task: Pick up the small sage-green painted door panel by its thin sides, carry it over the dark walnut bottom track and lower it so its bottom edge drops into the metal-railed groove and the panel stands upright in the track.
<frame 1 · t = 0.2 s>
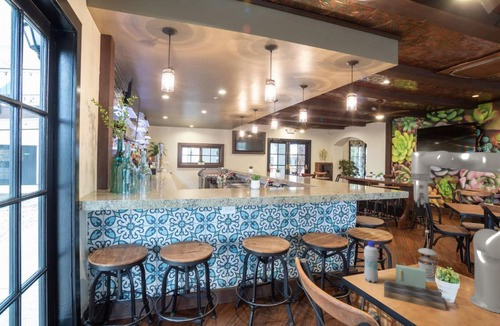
hand: (419, 214, 118), 36 cm above the table, tool pointing down, fingers open, 9 cm apart
bottle: (370, 281, 127), on the table
bottom track: (412, 296, 112), on the table
french press: (428, 278, 131), on the table
door panel: (410, 286, 122), on the table
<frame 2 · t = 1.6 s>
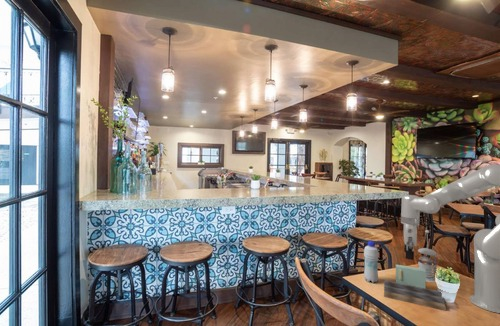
hand: (408, 255, 122), 15 cm above the table, tool pointing down, fingers open, 9 cm apart
nothing on the table moved.
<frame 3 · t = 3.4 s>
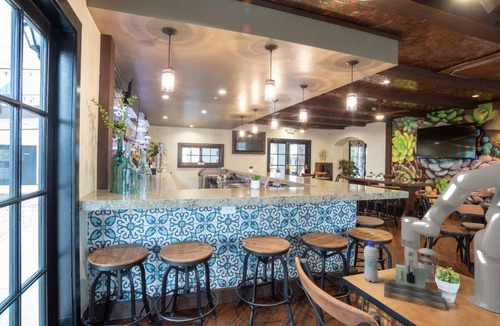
hand: (410, 280, 122), 3 cm above the table, tool pointing down, fingers closed on door panel, 3 cm apart
door panel: (410, 286, 122), on the table, touching gripper
everything else where it was.
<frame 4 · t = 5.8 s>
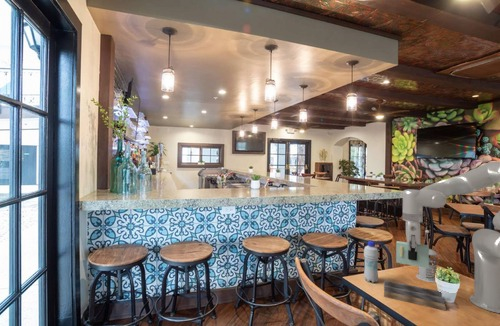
hand: (412, 258, 112), 17 cm above the table, tool pointing down, fingers closed on door panel, 3 cm apart
door panel: (411, 264, 112), point 14 cm above the table, touching gripper
everything else where it was.
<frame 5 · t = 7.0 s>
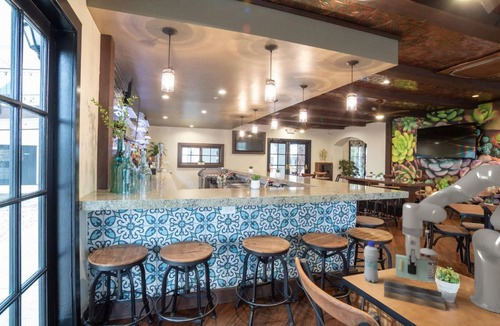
hand: (411, 271, 112), 11 cm above the table, tool pointing down, fingers closed on door panel, 3 cm apart
door panel: (411, 277, 112), point 8 cm above the table, touching gripper
everything else where it was.
when the fingers open (5 cm above the table, at t = 8.2 s): door panel drops 1 cm, resting on bottom track.
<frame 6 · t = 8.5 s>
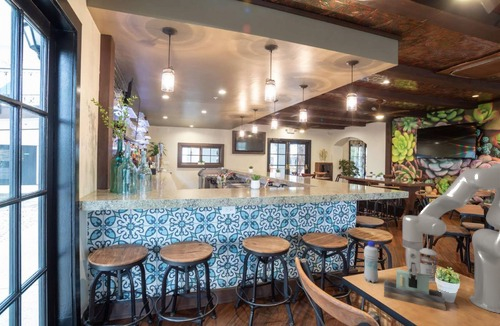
hand: (412, 284, 112), 6 cm above the table, tool pointing down, fingers open, 5 cm apart
door panel: (412, 293, 112), point 2 cm above the table, touching bottom track
everything else where it was.
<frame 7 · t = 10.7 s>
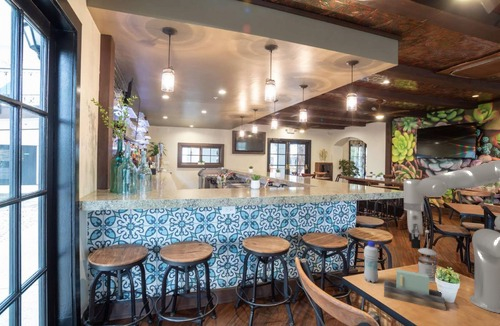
hand: (414, 244, 113), 23 cm above the table, tool pointing down, fingers open, 9 cm apart
nothing on the table moved.
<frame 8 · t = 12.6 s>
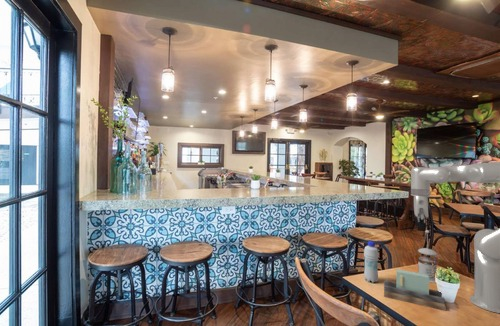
hand: (420, 228, 121), 28 cm above the table, tool pointing down, fingers open, 9 cm apart
nothing on the table moved.
at the end: door panel inside the target area on the bottom track (0.0 cm from its centre), point 1.5 cm above the bottom track's base; door panel tilted 0°; the gripper is holding nothing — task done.
